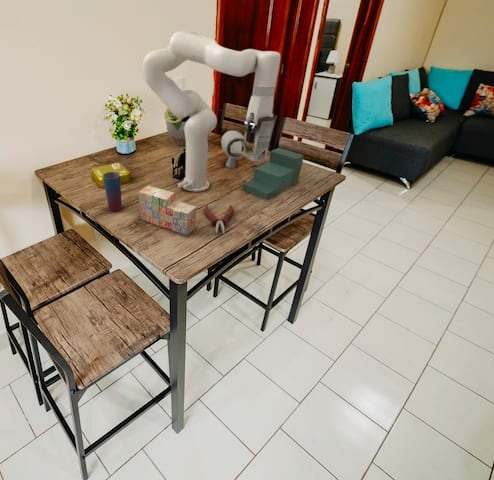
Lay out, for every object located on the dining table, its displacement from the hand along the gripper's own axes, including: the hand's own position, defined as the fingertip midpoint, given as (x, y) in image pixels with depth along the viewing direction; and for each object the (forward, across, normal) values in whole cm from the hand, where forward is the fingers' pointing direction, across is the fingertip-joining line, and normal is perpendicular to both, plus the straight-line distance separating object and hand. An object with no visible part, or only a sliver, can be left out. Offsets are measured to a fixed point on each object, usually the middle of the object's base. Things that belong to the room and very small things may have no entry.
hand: (256, 139), depth 130 cm
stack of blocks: (+26, +39, -8) cm, 48 cm away
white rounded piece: (+26, -20, -25) cm, 41 cm away
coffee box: (+7, 0, 0) cm, 7 cm away
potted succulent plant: (+26, -27, -67) cm, 77 cm away
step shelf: (+25, -17, 0) cm, 30 cm away
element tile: (+26, +33, -56) cm, 70 cm away
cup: (+26, +48, -30) cm, 62 cm away
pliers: (+26, +24, +3) cm, 35 cm away
